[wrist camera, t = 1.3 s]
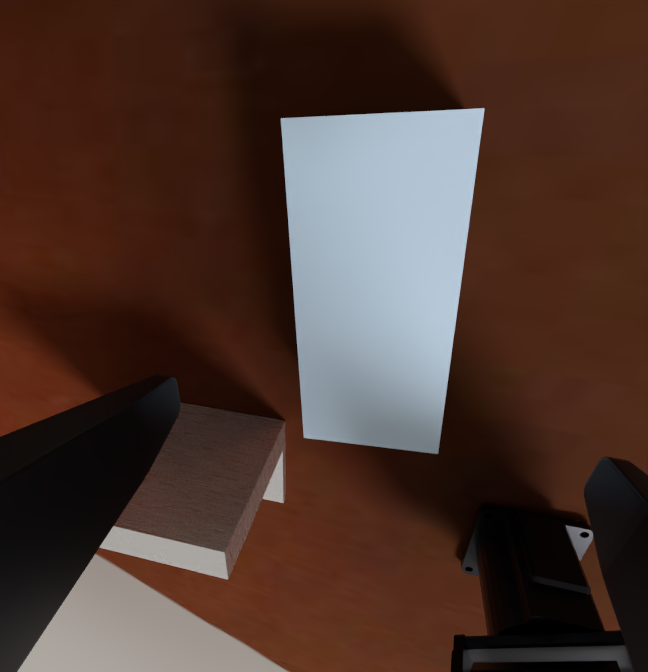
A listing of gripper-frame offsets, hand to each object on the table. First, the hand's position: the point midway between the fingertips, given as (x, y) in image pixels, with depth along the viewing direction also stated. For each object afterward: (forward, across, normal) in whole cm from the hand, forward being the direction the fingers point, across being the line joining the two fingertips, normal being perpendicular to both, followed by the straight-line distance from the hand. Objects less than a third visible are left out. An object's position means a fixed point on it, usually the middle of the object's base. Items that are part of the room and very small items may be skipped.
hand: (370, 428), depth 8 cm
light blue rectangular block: (+12, 0, +1) cm, 12 cm away
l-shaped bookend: (+12, +11, +15) cm, 22 cm away
